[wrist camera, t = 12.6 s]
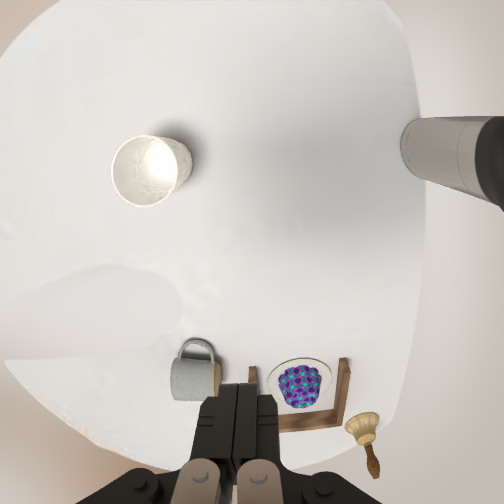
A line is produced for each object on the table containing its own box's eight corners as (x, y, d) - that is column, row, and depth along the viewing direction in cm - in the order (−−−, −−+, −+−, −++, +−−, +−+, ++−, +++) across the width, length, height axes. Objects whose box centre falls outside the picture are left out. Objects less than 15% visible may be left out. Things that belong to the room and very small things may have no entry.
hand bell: (337, 429, 58) (348, 485, 43) (361, 408, 56) (378, 467, 41) (361, 435, 59) (375, 487, 45) (385, 416, 57) (403, 469, 42)
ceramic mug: (224, 381, 53) (220, 411, 45) (182, 379, 53) (173, 408, 46) (220, 337, 49) (214, 367, 42) (173, 335, 49) (161, 363, 42)
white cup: (197, 134, 38) (178, 133, 28) (196, 192, 40) (177, 208, 31) (143, 136, 38) (110, 137, 28) (143, 191, 40) (112, 207, 31)
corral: (345, 357, 50) (350, 372, 46) (338, 411, 56) (341, 425, 52) (249, 366, 51) (248, 382, 47) (257, 419, 57) (256, 433, 53)
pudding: (276, 404, 55) (276, 424, 50) (260, 364, 51) (259, 384, 46) (334, 391, 54) (339, 410, 49) (326, 349, 50) (331, 368, 45)
